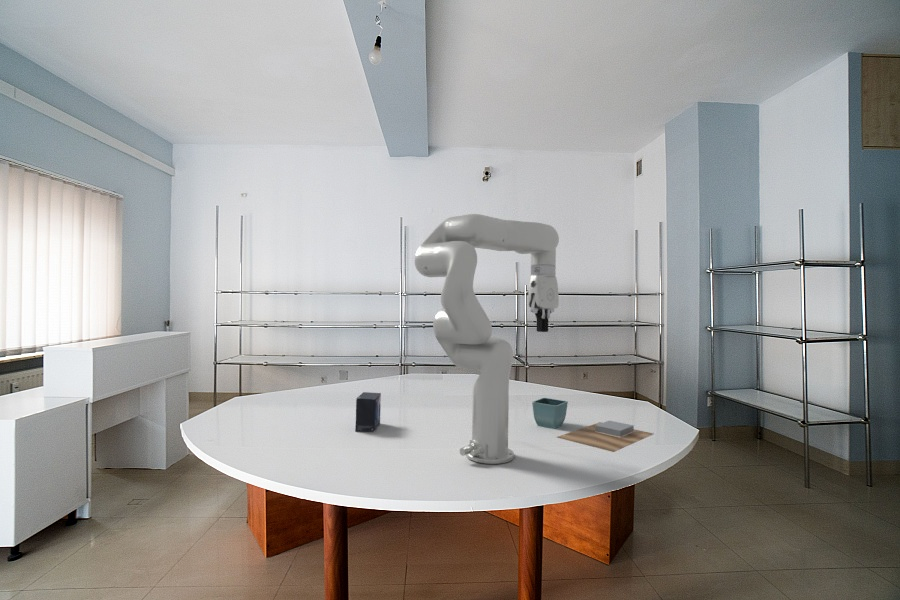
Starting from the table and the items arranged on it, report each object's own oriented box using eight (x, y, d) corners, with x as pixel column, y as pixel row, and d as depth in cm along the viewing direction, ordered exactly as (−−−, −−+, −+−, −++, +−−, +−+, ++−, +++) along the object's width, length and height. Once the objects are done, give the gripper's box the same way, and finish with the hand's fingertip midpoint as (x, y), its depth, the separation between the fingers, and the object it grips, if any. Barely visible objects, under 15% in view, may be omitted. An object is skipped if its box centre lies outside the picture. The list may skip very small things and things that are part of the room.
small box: (375, 432, 146) (376, 398, 146) (354, 432, 146) (355, 398, 146) (381, 423, 156) (381, 392, 156) (361, 423, 156) (362, 391, 156)
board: (613, 456, 125) (613, 451, 125) (556, 441, 138) (556, 437, 138) (654, 437, 143) (654, 433, 143) (599, 425, 156) (599, 422, 156)
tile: (620, 430, 139) (633, 425, 145) (595, 425, 145) (609, 420, 151) (620, 437, 139) (633, 431, 145) (595, 431, 145) (609, 426, 151)
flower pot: (556, 434, 146) (556, 405, 146) (531, 429, 151) (531, 401, 151) (568, 428, 153) (568, 401, 153) (543, 424, 158) (543, 397, 158)
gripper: (538, 270, 136) (538, 333, 136) (567, 272, 146) (566, 331, 146) (518, 271, 141) (517, 331, 141) (546, 273, 151) (546, 330, 151)
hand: (542, 331), depth 144 cm, fingers closed
